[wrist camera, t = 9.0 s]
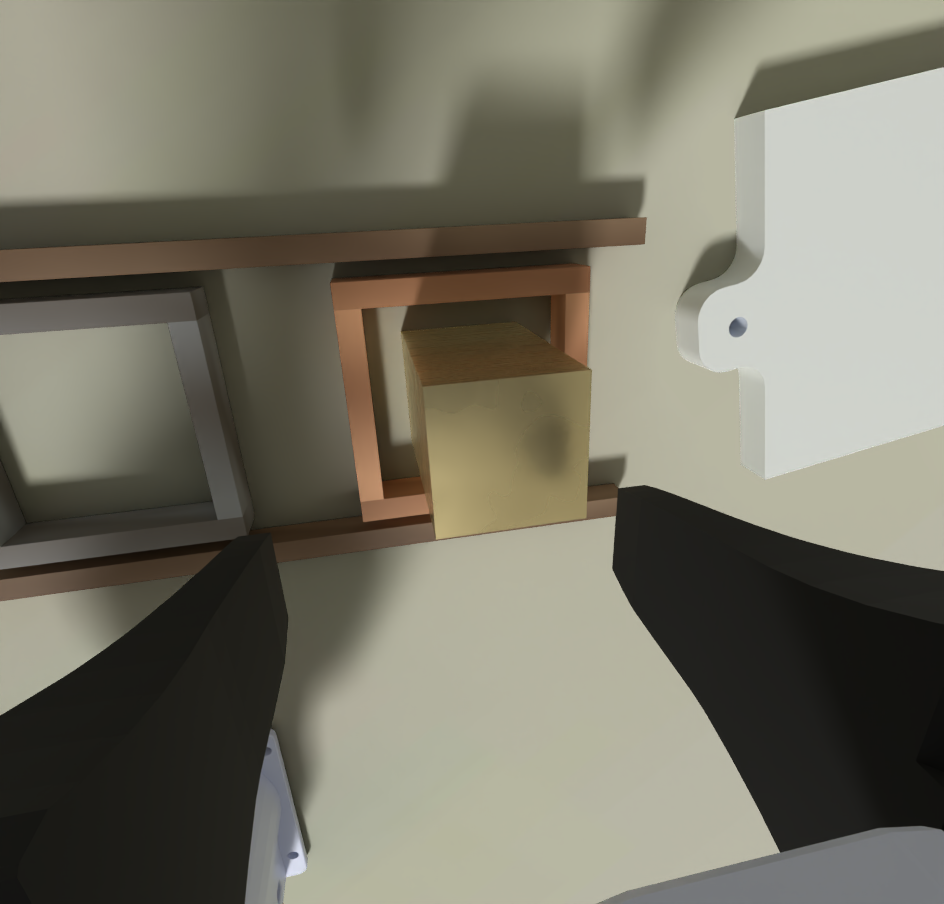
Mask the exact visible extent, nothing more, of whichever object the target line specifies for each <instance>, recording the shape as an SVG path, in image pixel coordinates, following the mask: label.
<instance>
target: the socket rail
mask: <svg viewBox="0 0 944 904" xmlns="http://www.w3.org/2000/svg"><path fill="white" fill-rule="evenodd" d="M646 219H647V217H644V218H615V219H596V220H576V221H556V222H537V223H517V224H497V225H477V226H458V227H438V228H418V229H398V230H379V231H359V232H339V233H319V234H300V235H280V236H260V237H240V238H221V239H201V240H181V241H161V242H142V243H122V244H102V245H82V246H63V247H43V248H23V249H4V250H0V282H10V281H27V280H44V279H61V278H78V277H95V276H112V275H129V274H146V273H163V272H180V271H197V270H215V269H232V268H249V267H266V266H283V265H300V264H317V263H334V262H351V261H368V260H385V259H402V258H419V257H436V256H453V255H470V254H487V253H504V252H521V251H538V250H555V249H572V248H589V247H606V246H623V245H640V244H645V233H646ZM330 286H331V293H332V300H333V307H334V315H335V322H336V329H337V336H338V343H339V351H340V358H341V365H342V372H343V380H344V387H345V394H346V401H347V408H348V416H349V423H350V430H351V437H352V444H353V452H354V459H355V466H356V473H357V481H358V488H359V495H360V502H361V509H362V516H357V517H349V518H341V519H333V520H326V521H318V522H310V523H302V524H295V525H287V526H279V527H271V528H264V529H256V530H250V529H251V526H252V523H253V521H254V518H255V514H254V509H253V505H252V501H251V496H250V492H249V487H248V483H247V478H246V474H245V469H244V465H243V461H242V456H241V452H240V447H239V443H238V438H237V434H236V429H235V425H234V420H233V416H232V412H231V407H230V403H229V398H228V394H227V389H226V385H225V380H224V376H223V372H222V367H221V363H220V358H219V354H218V349H217V345H216V340H215V336H214V332H213V327H212V323H211V318H210V314H209V309H208V305H207V300H206V296H205V292H204V287H190V288H174V289H158V290H142V291H126V292H111V293H95V294H79V295H63V296H47V297H31V298H16V299H0V335H4V334H18V333H32V332H46V331H60V330H74V329H87V328H101V327H115V326H129V325H143V324H157V323H167V324H168V328H169V332H170V335H171V339H172V343H173V347H174V351H175V355H176V359H177V363H178V367H179V371H180V375H181V378H182V382H183V386H184V390H185V394H186V398H187V402H188V406H189V410H190V414H191V418H192V422H193V425H194V429H195V433H196V437H197V441H198V445H199V449H200V453H201V457H202V461H203V465H204V468H205V472H206V476H207V480H208V484H209V488H210V492H211V496H212V500H213V501H211V502H203V503H194V504H186V505H178V506H170V507H161V508H153V509H145V510H136V511H128V512H120V513H111V514H103V515H95V516H86V517H78V518H70V519H61V520H53V521H45V522H36V523H28V524H26V521H25V519H24V517H23V514H22V512H21V509H20V507H19V504H18V502H17V500H16V497H15V495H14V492H13V490H12V487H11V485H10V482H9V480H8V478H7V475H6V473H5V470H4V468H3V465H2V463H1V461H0V601H6V600H13V599H20V598H27V597H34V596H42V595H49V594H56V593H63V592H70V591H78V590H85V589H92V588H99V587H106V586H114V585H121V584H128V583H135V582H143V581H150V580H157V579H164V578H171V577H179V576H186V575H193V574H197V573H198V572H199V571H200V570H201V569H202V568H204V567H205V566H206V565H207V564H208V563H209V562H210V561H211V560H212V559H213V558H214V557H215V556H216V555H217V554H218V553H220V552H221V551H222V550H223V549H224V548H225V547H226V546H227V545H228V544H229V543H231V542H232V541H233V540H234V539H236V538H237V537H238V536H246V535H254V534H262V533H270V532H271V536H272V541H273V546H274V551H275V556H276V561H277V563H279V562H287V561H294V560H301V559H308V558H316V557H323V556H330V555H337V554H344V553H352V552H359V551H366V550H373V549H380V548H388V547H395V546H402V545H409V544H416V543H424V542H431V541H438V540H445V539H452V538H460V537H467V536H474V535H481V534H488V533H496V532H503V531H510V530H517V529H525V528H532V527H539V526H546V525H553V524H561V523H568V522H575V521H582V520H589V519H597V518H604V517H611V516H616V509H617V495H618V487H617V486H616V485H615V484H614V483H612V484H605V485H597V486H589V487H587V515H586V518H584V519H577V520H570V521H563V522H556V523H549V524H542V525H535V526H528V527H521V528H514V529H507V530H500V531H493V532H486V533H479V534H472V535H465V536H458V537H451V538H444V539H437V540H436V538H435V533H434V529H433V525H432V521H431V517H430V513H429V509H428V505H427V501H426V497H425V493H424V489H423V485H422V480H421V476H419V477H411V478H403V479H394V480H386V481H382V476H381V468H380V460H379V451H378V443H377V434H376V426H375V418H374V409H373V401H372V393H371V384H370V376H369V368H368V359H367V351H366V342H365V334H364V326H363V317H362V309H365V308H379V307H393V306H407V305H421V304H435V303H449V302H463V301H476V300H490V299H504V298H518V297H532V296H546V295H551V345H553V346H555V347H556V348H558V349H559V350H561V351H563V352H564V353H566V354H567V355H569V356H570V357H572V358H574V359H575V360H577V361H578V362H580V363H582V364H583V365H585V366H586V367H587V347H588V320H589V293H590V266H586V265H580V264H575V263H570V264H554V265H538V266H522V267H507V268H491V269H475V270H459V271H443V272H427V273H412V274H396V275H380V276H364V277H348V278H332V280H331V282H330Z"/></svg>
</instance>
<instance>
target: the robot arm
mask: <svg viewBox="0 0 944 904" xmlns="http://www.w3.org/2000/svg"><path fill="white" fill-rule="evenodd" d="M612 569H613V571H614V573H615V575H616V577H617V579H618V581H619V583H620V586H621V588H622V590H623V592H624V593H625V595H626V597H627V599H628V601H629V603H630V605H631V606H632V608H633V609H634V611H635V612H636V614H637V615H638V617H639V618H640V620H641V621H642V623H643V624H644V625H645V627H646V628H647V630H648V631H649V632H650V634H651V635H652V637H653V638H654V640H655V641H656V642H657V644H658V645H659V646H660V648H661V649H662V651H663V652H664V653H665V655H666V656H667V658H668V659H669V660H670V662H671V663H672V665H673V666H674V667H675V669H676V670H677V672H678V673H679V674H680V676H681V677H682V679H683V680H684V681H685V683H686V684H687V685H688V687H689V688H690V690H691V691H692V693H693V694H694V696H695V697H696V699H697V700H698V702H699V703H700V705H701V706H702V708H703V709H704V711H705V713H706V714H707V716H708V718H709V720H710V721H711V723H712V725H713V727H714V728H715V730H716V732H717V734H718V735H719V737H720V739H721V741H722V742H723V744H724V746H725V748H726V749H727V751H728V753H729V755H730V756H731V758H732V760H733V762H734V764H735V766H736V768H737V770H738V771H739V773H740V775H741V777H742V779H743V781H744V783H745V784H746V786H747V788H748V790H749V792H750V794H751V796H752V798H753V799H754V801H755V803H756V805H757V807H758V809H759V811H760V813H761V815H762V817H763V819H764V821H765V823H766V825H767V827H768V829H769V831H770V833H771V835H772V837H773V839H774V841H775V843H776V845H777V847H778V849H779V851H780V853H777V854H773V855H769V856H765V857H761V858H757V859H753V860H749V861H745V862H741V863H737V864H733V865H729V866H725V867H721V868H717V869H713V870H709V871H705V872H701V873H697V874H693V875H689V876H685V877H681V878H677V879H673V880H669V881H665V882H661V883H657V884H653V885H649V886H645V887H641V888H637V889H633V890H629V891H626V892H623V893H621V894H619V895H616V896H614V897H611V898H609V899H607V900H604V901H602V902H599V903H597V904H944V571H939V570H933V569H927V568H921V567H915V566H909V565H904V564H899V563H894V562H889V561H884V560H879V559H874V558H869V557H865V556H860V555H856V554H852V553H847V552H843V551H840V550H836V549H832V548H828V547H825V546H821V545H817V544H813V543H810V542H806V541H803V540H799V539H796V538H793V537H789V536H786V535H783V534H780V533H777V532H774V531H771V530H768V529H765V528H762V527H759V526H756V525H753V524H751V523H748V522H745V521H742V520H740V519H737V518H734V517H732V516H729V515H726V514H724V513H721V512H718V511H716V510H713V509H711V508H708V507H706V506H703V505H700V504H698V503H695V502H693V501H690V500H688V499H685V498H682V497H680V496H677V495H674V494H672V493H669V492H666V491H663V490H660V489H657V488H654V487H650V486H646V485H642V486H634V487H626V488H618V495H617V509H616V524H615V538H614V553H613V567H612ZM287 628H288V614H287V609H286V604H285V600H284V595H283V590H282V585H281V580H280V575H279V570H278V566H277V561H276V556H275V551H274V546H273V541H272V536H271V532H270V533H262V534H254V535H246V536H238V537H237V538H236V539H234V540H233V541H232V542H231V543H229V544H228V545H227V546H226V547H225V548H224V549H223V550H222V551H221V552H220V553H218V554H217V555H216V556H215V557H214V558H213V559H212V560H211V561H210V562H209V563H208V564H207V565H206V566H205V567H204V568H202V569H201V570H200V571H199V572H198V573H197V574H196V575H195V576H194V577H193V578H191V579H190V580H189V581H188V582H187V583H186V584H185V585H184V586H183V587H182V588H181V589H179V590H178V591H177V592H176V593H175V594H174V595H173V596H171V597H170V598H169V599H168V600H167V601H165V602H164V603H163V604H162V605H161V606H159V607H158V608H157V609H156V610H154V611H153V612H152V613H151V614H150V615H148V616H147V617H146V618H145V619H144V620H142V621H141V622H140V623H139V624H138V625H136V626H135V627H134V628H133V629H131V630H130V631H129V632H128V633H126V634H125V635H124V636H122V637H121V638H120V639H118V640H117V641H116V642H114V643H113V644H111V645H110V646H109V647H107V648H106V649H105V650H103V651H102V652H100V653H99V654H97V655H96V656H94V657H93V658H92V659H90V660H89V661H87V662H86V663H84V664H83V665H81V666H80V667H79V668H77V669H76V670H74V671H73V672H71V673H69V674H68V675H66V676H65V677H63V678H62V679H60V680H58V681H57V682H55V683H53V684H52V685H50V686H48V687H47V688H45V689H43V690H42V691H40V692H38V693H37V694H35V695H34V696H32V697H30V698H29V699H27V700H25V701H24V702H22V703H20V704H19V705H17V706H15V707H14V708H12V709H11V710H9V711H7V712H6V713H4V714H2V715H0V904H283V899H284V890H285V881H286V877H289V876H293V875H298V874H301V873H303V872H304V871H305V870H306V869H307V862H308V858H307V854H306V850H305V846H304V842H303V838H302V834H301V830H300V826H299V822H298V818H297V814H296V810H295V806H294V802H293V798H292V794H291V790H290V786H289V782H288V778H287V774H286V770H285V766H284V762H283V758H282V755H281V751H280V747H279V743H278V739H277V735H276V732H275V731H274V730H273V729H271V725H272V720H273V716H274V711H275V707H276V702H277V697H278V693H279V688H280V683H281V679H282V674H283V669H284V664H285V654H286V643H287ZM266 747H269V748H266Z"/></svg>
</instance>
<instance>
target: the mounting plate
mask: <svg viewBox="0 0 944 904" xmlns="http://www.w3.org/2000/svg"><path fill="white" fill-rule="evenodd" d="M734 133H735V186H736V240H737V246H736V254H735V257H734V260H733V262H732V263H731V265H730V267H729V268H728V269H727V270H726V272H725V273H723V274H722V275H721V276H719V277H718V278H715V279H713V280H709V281H706V282H702V283H698V284H696V285H694V286H692V287H690V288H689V289H687V290H686V291H685V292H684V294H683V295H682V296H681V297H680V299H679V301H678V303H677V306H676V310H675V326H676V341H677V348H678V351H679V353H680V355H681V356H682V357H683V358H684V359H685V360H687V361H689V362H691V363H694V364H696V365H698V366H701V367H703V368H706V369H708V370H711V371H713V372H719V373H720V372H727V371H730V370H734V369H738V373H739V400H740V453H741V465H742V466H744V467H745V468H747V469H749V470H750V471H752V472H753V473H755V474H757V475H758V476H760V477H761V478H763V479H765V480H766V479H769V478H772V477H776V476H779V475H782V474H786V473H789V472H792V471H796V470H799V469H802V468H805V467H809V466H812V465H815V464H819V463H822V462H825V461H829V460H832V459H835V458H839V457H842V456H845V455H848V454H852V453H855V452H858V451H862V450H865V449H868V448H872V447H875V446H878V445H881V444H885V443H888V442H891V441H895V440H898V439H901V438H905V437H908V436H911V435H915V434H918V433H921V432H924V431H928V430H931V429H934V428H938V427H941V426H944V67H942V68H938V69H934V70H930V71H926V72H922V73H917V74H913V75H909V76H905V77H901V78H897V79H892V80H888V81H884V82H880V83H876V84H872V85H867V86H863V87H859V88H855V89H851V90H847V91H843V92H838V93H834V94H830V95H826V96H822V97H818V98H813V99H809V100H805V101H801V102H797V103H793V104H788V105H784V106H780V107H776V108H772V109H768V110H764V111H760V112H757V113H753V114H750V115H746V116H742V117H739V118H735V119H734Z"/></svg>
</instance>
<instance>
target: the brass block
mask: <svg viewBox="0 0 944 904" xmlns="http://www.w3.org/2000/svg"><path fill="white" fill-rule="evenodd" d="M401 337H402V347H403V357H404V367H405V377H406V388H407V398H408V408H409V418H410V428H411V438H412V444H413V448H414V452H415V456H416V460H417V464H418V468H419V472H420V476H421V480H422V485H423V489H424V493H425V497H426V501H427V505H428V509H429V513H430V517H431V521H432V525H433V529H434V533H435V538H436V540H437V539H444V538H451V537H458V536H465V535H472V534H479V533H486V532H493V531H500V530H507V529H514V528H521V527H528V526H535V525H542V524H549V523H556V522H563V521H570V520H577V519H584V518H586V515H587V487H588V459H589V432H590V404H591V377H592V370H591V369H589V368H588V367H586V366H585V365H583V364H582V363H580V362H578V361H577V360H575V359H574V358H572V357H570V356H569V355H567V354H566V353H564V352H563V351H561V350H559V349H558V348H556V347H555V346H553V345H551V344H550V343H548V342H547V341H545V340H544V339H542V338H540V337H539V336H537V335H536V334H534V333H532V332H531V331H529V330H528V329H526V328H525V327H523V326H521V325H520V324H518V323H517V322H506V323H494V324H482V325H470V326H458V327H446V328H434V329H422V330H410V331H401Z"/></svg>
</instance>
